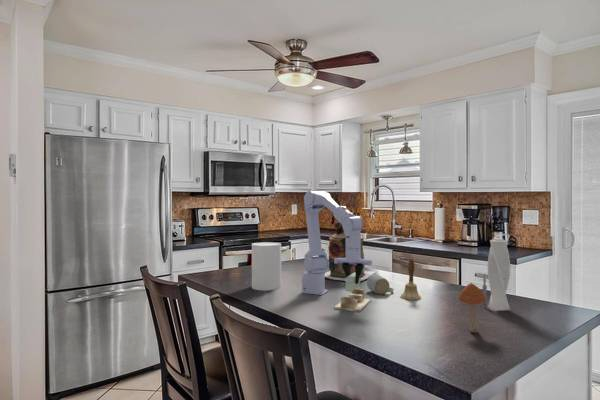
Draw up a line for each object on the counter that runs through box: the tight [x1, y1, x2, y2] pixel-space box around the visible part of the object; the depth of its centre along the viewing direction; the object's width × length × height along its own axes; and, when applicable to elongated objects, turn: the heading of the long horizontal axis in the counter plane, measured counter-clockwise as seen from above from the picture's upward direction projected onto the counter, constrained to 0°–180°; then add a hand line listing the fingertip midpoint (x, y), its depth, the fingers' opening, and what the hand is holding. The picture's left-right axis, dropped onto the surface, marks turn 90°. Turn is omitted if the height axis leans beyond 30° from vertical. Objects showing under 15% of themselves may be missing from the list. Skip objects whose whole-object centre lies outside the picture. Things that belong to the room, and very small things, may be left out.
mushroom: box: [457, 282, 486, 333], centre depth 123 cm, size 8×8×15 cm
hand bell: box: [400, 258, 422, 301], centre depth 164 cm, size 8×8×16 cm
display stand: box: [333, 288, 372, 313], centre depth 154 cm, size 10×16×4 cm, turn 157°
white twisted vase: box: [481, 233, 511, 312], centre depth 148 cm, size 8×8×28 cm
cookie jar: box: [325, 220, 378, 282], centre depth 207 cm, size 25×25×32 cm
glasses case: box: [344, 272, 361, 293], centre depth 153 cm, size 2×12×5 cm, turn 157°
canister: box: [251, 241, 282, 292], centre depth 184 cm, size 14×14×20 cm
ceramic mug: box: [366, 273, 395, 296], centre depth 173 cm, size 11×8×8 cm
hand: (353, 283), depth 153 cm, fingers closed on glasses case, 2 cm apart
